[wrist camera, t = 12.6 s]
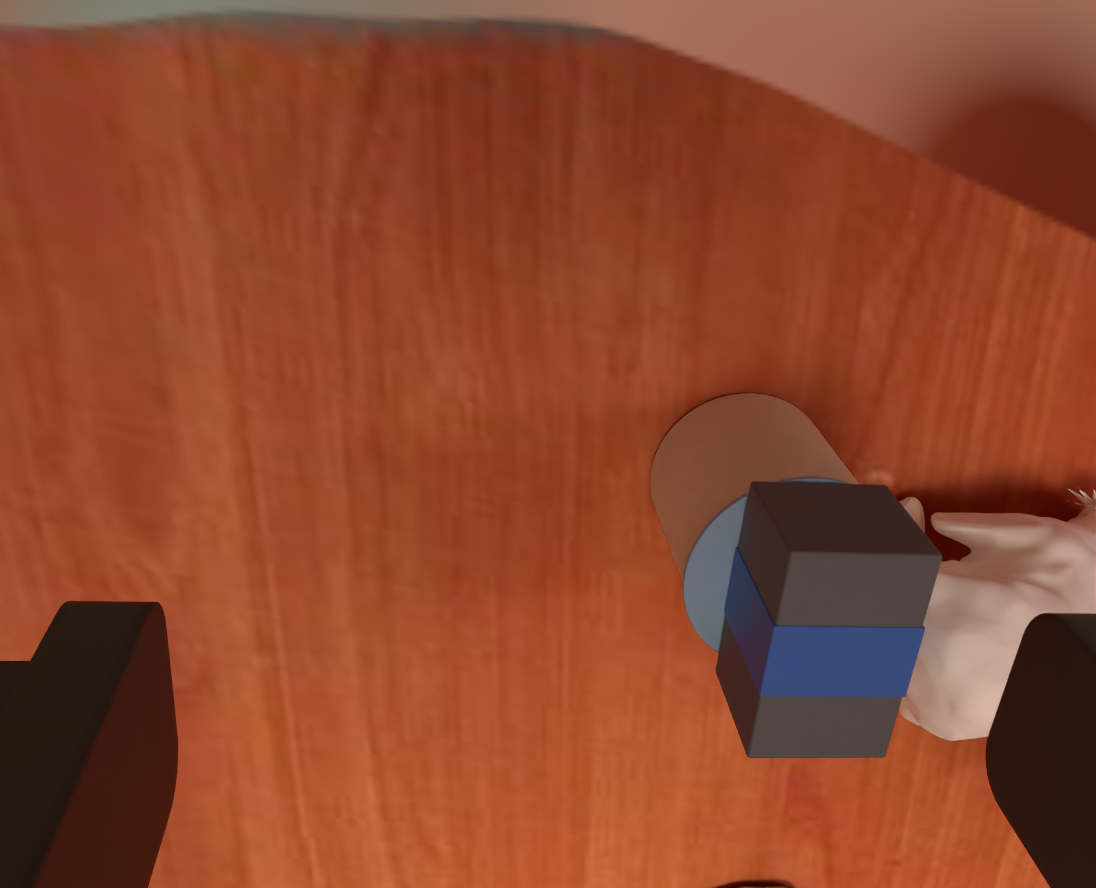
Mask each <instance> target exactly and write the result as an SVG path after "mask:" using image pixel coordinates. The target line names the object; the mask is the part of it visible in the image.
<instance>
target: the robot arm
mask: <svg viewBox="0 0 1096 888" xmlns="http://www.w3.org/2000/svg"><path fill="white" fill-rule="evenodd" d="M177 766H178V736H177V726H176V716H175V706H174V697H173V687H172V677H171V667H170V658H169V648H168V638H167V628H166V621H165V616H164V612H163V609H162V606H161V605H160V604H159V603H158V602H109V601H67V602H66V603H64V604H63V605H62V606H61V607H60V609H59V610H58V612H57V613H56V615H55V617H54V619H53V621H52V622H51V624H50V626H49V628H48V630H47V632H46V633H45V635H44V637H43V639H42V641H41V642H40V644H39V646H38V648H37V650H36V651H35V653H34V655H33V657H32V659H31V661H0V888H148V885H149V882H150V879H151V875H152V872H153V869H154V865H155V862H156V859H157V855H158V852H159V849H160V845H161V842H162V839H163V835H164V832H165V829H166V825H167V822H168V819H169V815H170V811H171V808H172V803H173V798H174V792H175V786H176V778H177ZM986 768H987V775H988V779H989V784H990V787H991V790H992V793H993V795H994V797H995V800H996V802H997V804H998V805H999V807H1000V809H1001V810H1002V812H1003V813H1004V815H1005V817H1006V818H1007V820H1008V821H1009V823H1010V825H1011V826H1012V828H1013V829H1014V831H1015V832H1016V834H1017V836H1018V837H1019V839H1020V840H1021V842H1022V843H1023V845H1024V847H1025V848H1026V850H1027V851H1028V853H1029V854H1030V856H1031V858H1032V859H1033V861H1034V862H1035V864H1036V866H1037V867H1038V869H1039V870H1040V872H1041V873H1042V875H1043V877H1044V878H1045V880H1046V881H1047V883H1048V884H1049V886H1050V888H1096V614H1092V613H1043V614H1039V615H1038V616H1036V617H1034V618H1033V619H1032V620H1031V621H1030V622H1029V624H1028V626H1027V627H1026V629H1025V631H1024V634H1023V636H1022V639H1021V642H1020V645H1019V648H1018V651H1017V654H1016V657H1015V659H1014V662H1013V665H1012V668H1011V671H1010V674H1009V677H1008V680H1007V683H1006V685H1005V688H1004V691H1003V694H1002V697H1001V700H1000V703H999V706H998V709H997V711H996V714H995V717H994V720H993V723H992V726H991V729H990V732H989V735H988V739H987V745H986Z"/></svg>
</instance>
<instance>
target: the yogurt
mask: <svg viewBox="0 0 1096 888" xmlns="http://www.w3.org/2000/svg"><path fill="white" fill-rule="evenodd" d="M753 481H759V482H794V483H828V484H859V483H858V482H857V481H856V479H855V478H854V477H853V475H852V474H851V473H850V471H849V470H848V469H847V467H846V466H845V465H844V463H843V462H842V461H841V460H840V458H839V457H838V456H837V454H836V453H835V452H834V450H833V449H832V448H831V446H830V445H829V444H828V442H827V441H826V440H825V438H824V437H823V436H822V435H821V433H820V432H819V431H818V429H817V428H816V427H815V425H814V424H813V423H812V421H811V420H810V419H809V418H808V417H807V416H806V415H805V414H804V413H803V412H802V411H801V410H799V409H798V408H797V407H795V406H794V405H792V404H790V403H788V402H786V401H784V400H782V399H779V398H776V397H773V396H769V395H765V394H755V393H740V394H733V395H727V396H724V397H720V398H716V399H714V400H711V401H709V402H706V403H704V404H702V405H701V406H699V407H697V408H695V409H694V410H692V411H691V412H689V413H688V414H686V415H685V416H684V417H683V418H682V419H680V420H679V421H678V422H677V423H676V424H675V425H674V426H673V427H672V428H671V430H670V431H669V432H668V433H667V435H666V436H665V438H664V439H663V441H662V442H661V444H660V446H659V448H658V450H657V452H656V455H655V457H654V460H653V463H652V468H651V473H650V491H651V497H652V501H653V504H654V507H655V510H656V512H657V515H658V518H659V520H660V523H661V526H662V528H663V531H664V534H665V537H666V539H667V542H668V545H669V547H670V550H671V553H672V555H673V558H674V561H675V563H676V566H677V569H678V571H679V574H680V577H681V580H682V582H683V584H682V588H683V599H684V604H685V608H686V611H687V614H688V616H689V619H690V621H691V624H692V625H693V627H694V628H695V630H696V632H697V633H698V634H699V636H700V637H701V638H702V639H703V640H704V641H705V642H706V643H707V644H708V645H709V646H710V647H711V648H712V649H714V650H715V651H717V652H718V653H719V650H720V645H721V639H722V634H723V628H724V623H725V618H726V615H725V612H724V609H725V604H726V599H727V593H728V588H729V582H730V577H731V572H732V566H733V561H734V555H735V550H736V547H739V543H740V537H741V532H742V527H743V521H744V516H745V511H746V505H747V500H748V494H749V489H750V484H751V482H753Z"/></svg>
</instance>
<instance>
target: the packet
mask: <svg viewBox="0 0 1096 888" xmlns="http://www.w3.org/2000/svg"><path fill="white" fill-rule="evenodd" d="M941 560H942V554H941V553H940V552H939V550H938V549H937V548H936V547H935V545H934V544H933V543H932V542H931V541H930V539H929V538H928V537H927V536H926V534H925V533H924V532H923V531H922V529H921V528H920V527H919V526H918V524H917V523H916V522H915V521H914V520H913V518H912V517H911V516H910V515H909V513H908V512H907V511H906V510H905V508H904V507H903V506H902V505H901V503H900V502H899V501H898V500H897V498H896V497H895V496H894V495H893V494H892V492H891V491H890V490H889V489H888V487H887V486H885V485H863V484H828V483H794V482H759V481H753V482H751V484H750V489H749V494H748V500H747V505H746V511H745V516H744V521H743V527H742V532H741V537H740V543H739V547H736V550H735V555H734V561H733V566H732V572H731V577H730V582H729V588H728V593H727V599H726V604H725V609H724V612H725V615H726V618H725V623H724V628H723V634H722V639H721V645H720V650H719V655H718V661H717V666H716V674H717V676H718V679H719V682H720V684H721V687H722V690H723V693H724V695H725V698H726V701H727V703H728V706H729V709H730V711H731V714H732V717H733V719H734V722H735V725H736V728H737V730H738V733H739V736H740V738H741V741H742V744H743V746H744V749H745V752H746V754H747V757H749V758H883V757H885V756H886V752H887V749H888V745H889V742H890V738H891V735H892V731H893V728H894V724H895V721H896V717H897V714H898V710H899V707H900V703H901V700H902V697H905V696H906V694H907V691H908V687H909V684H910V680H911V677H912V673H913V670H914V666H915V663H916V659H917V656H918V652H919V649H920V646H921V642H922V639H923V635H924V632H925V627H924V626H923V623H924V620H925V616H926V613H927V609H928V606H929V602H930V599H931V595H932V592H933V588H934V585H935V581H936V578H937V574H938V571H939V567H940V564H941Z"/></svg>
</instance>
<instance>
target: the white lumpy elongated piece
mask: <svg viewBox="0 0 1096 888" xmlns="http://www.w3.org/2000/svg"><path fill="white" fill-rule="evenodd" d="M1078 488H1079V487H1078ZM1068 490H1069V491H1071V492H1072V493H1073V494H1074V495H1075V496H1076V497H1078V498H1079V499H1080V500H1081V501H1082V502H1083V503H1084V504H1085V505H1082V504H1080V503H1075V502H1074V503H1075V504H1079V505H1082V506H1085V508H1084V509H1083V510H1082V511H1081V512H1080V514H1079V515H1078V516H1077V517H1076V518H1072V519H1070V520H1068V521H1067V522H1064V521H1061V520H1058V519H1055V518H1050V517H1038V516H1034V515H1029V514H1022V513H961V512H960V513H939V512H936V513H934V514H933V515H932V516H931V524H932V526H933V528H934V529H935V530H936V531H937V532H939V533H940V534H942V535H944V536H947V537H949V538H951V539H953V540H955V541H958V542H960V543H962V544H964V545H966V546H968V547H969V548H970V550H971V552H970V554H969V555H967V556H965V557H963V558H962V559H961V560H960V561H955V560H949V561H945V562H941V564H940V567H939V571H938V574H937V578H936V581H935V585H934V588H933V592H932V595H931V599H930V602H929V606H928V609H927V613H926V616H925V620H924V623H923V626H924V627H925V632H924V635H923V639H922V642H921V646H920V649H919V652H918V656H917V659H916V663H915V666H914V670H913V673H912V677H911V680H910V684H909V687H908V691H907V694H906V696H905V697H902V700H901V703H900V707H899V711H900V713H901V715H902V716H903V717H904V718H905V719H907V720H909V721H911V722H912V723H914V724H916V725H919V726H921V727H922V728H924V729H925V730H927V731H928V732H930V733H932V734H934V735H936V736H938V737H940V738H943V739H946V740H950V741H956V740H964V739H973V738H981V737H987V736H988V735H989V732H990V729H991V726H992V723H993V720H994V717H995V714H996V711H997V709H998V706H999V703H1000V700H1001V697H1002V694H1003V691H1004V688H1005V685H1006V683H1007V680H1008V677H1009V674H1010V671H1011V668H1012V665H1013V662H1014V659H1015V657H1016V654H1017V651H1018V648H1019V645H1020V642H1021V639H1022V636H1023V634H1024V631H1025V629H1026V627H1027V626H1028V624H1029V622H1030V621H1031V620H1032V619H1033V618H1034V617H1036V616H1038V615H1039V614H1043V613H1092V614H1096V491H1095V490H1094V495H1093V500H1091V499H1092V498H1090V497H1089V496H1088V495H1087V494H1086V493H1085V492H1082V491H1081V490H1079V491H1080V492H1081V494H1082V495H1083V497H1084V498H1083V497H1082V496H1081V495H1079V494H1078V493H1076V492H1074V491H1072V490H1070V489H1068ZM1067 501H1069V500H1067ZM899 502H900V503H901V505H902V506H903V507H904V508H905V510H906V511H907V512H908V513H909V515H910V516H911V517H912V518H913V520H914V521H915V522H916V523H917V524H918V526H919V527H920V528H921V529H922V531H923V532H924V533H925V519H924V511H923V507H922V504H921V503H920V501H919V500H918V499H917V498H915V497H907V498H905V499H903V500H901V501H899Z"/></svg>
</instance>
